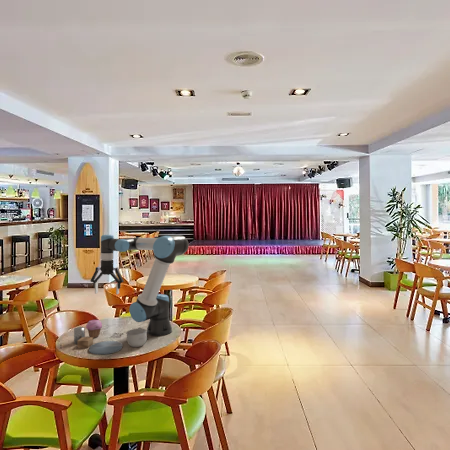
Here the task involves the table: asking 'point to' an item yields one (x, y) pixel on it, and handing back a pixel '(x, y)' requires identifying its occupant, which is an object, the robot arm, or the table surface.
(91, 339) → the walnut block
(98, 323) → the cupcake
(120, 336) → the table surface
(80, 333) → the metal tin
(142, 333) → the teacup
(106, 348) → the plate
